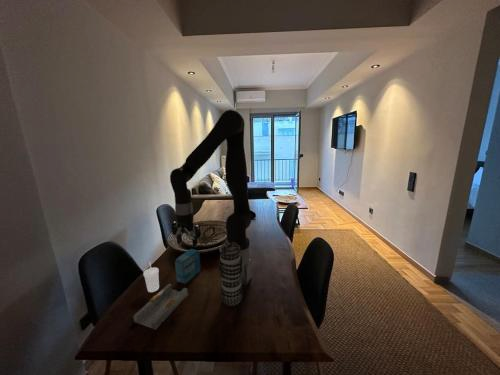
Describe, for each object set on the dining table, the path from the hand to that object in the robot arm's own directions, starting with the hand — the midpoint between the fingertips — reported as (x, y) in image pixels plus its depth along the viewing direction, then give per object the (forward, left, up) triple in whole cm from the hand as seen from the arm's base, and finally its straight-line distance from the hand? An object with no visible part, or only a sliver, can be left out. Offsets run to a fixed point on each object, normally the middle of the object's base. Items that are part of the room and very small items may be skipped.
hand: (187, 244), depth 96 cm
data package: (0, 0, -17) cm, 17 cm away
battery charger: (+3, -85, -18) cm, 87 cm away
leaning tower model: (-26, +7, -17) cm, 32 cm away
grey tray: (-2, +20, -17) cm, 26 cm away
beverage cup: (+10, +13, -17) cm, 24 cm away
